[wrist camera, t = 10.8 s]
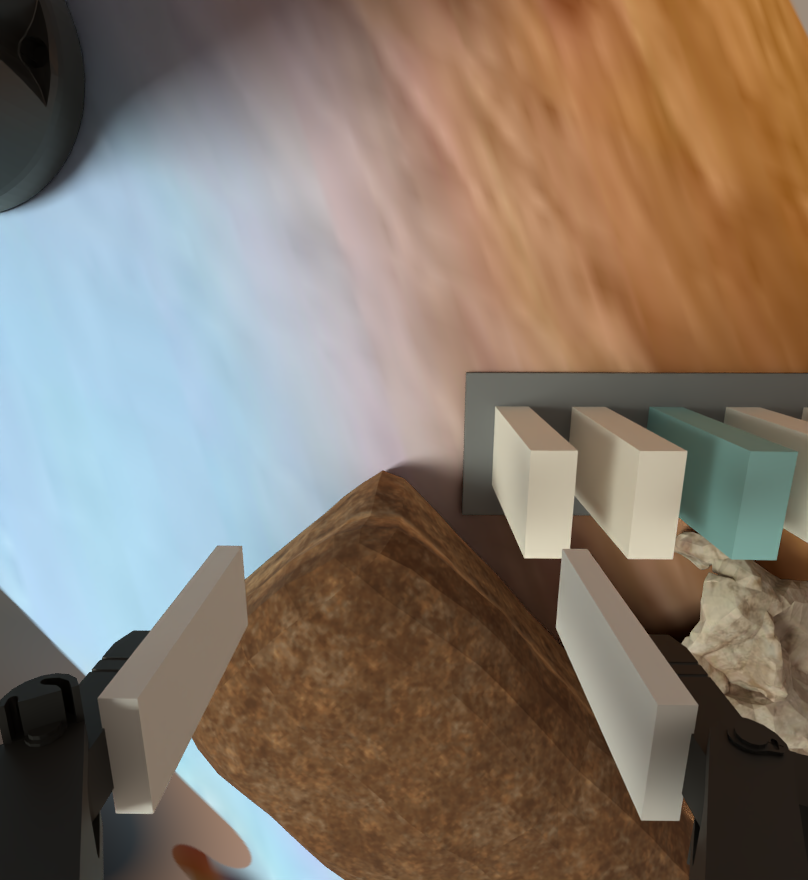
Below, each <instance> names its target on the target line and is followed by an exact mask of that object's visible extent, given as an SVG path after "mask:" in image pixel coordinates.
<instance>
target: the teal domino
mask: <svg viewBox="0 0 808 880" xmlns="http://www.w3.org/2000/svg"><path fill="white" fill-rule="evenodd" d="M647 430H649V431H651V432H653V433H655V434H657V435H658V436H660V437H662V438H664V439H666V440H668V441H670V442H671V443H673V444H675V445H677V446H679V447H681V448H682V449H684V450H686V451H687V459H686V466H685V473H684V481H683V488H682V496H681V503H680V510H679V518H680V519H682V520H683V521H684V522H685V523H687V524H688V525H689V526H690V527H692V528H693V529H694V530H695V531H697V532H698V533H699V534H700V535H701V536H703V537H704V538H705V539H706V540H708V541H709V542H710V543H711V544H713V545H714V546H715V547H716V548H718V549H719V550H720V551H721V552H723V553H724V554H725V555H726V556H728V557H729V558H730V559H731V560H777V555H778V550H779V545H780V540H781V535H782V530H783V525H784V520H785V515H786V510H787V505H788V500H789V495H790V490H791V485H792V480H793V476H794V471H795V466H796V461H797V456H798V452H797V451H794V450H792V449H789V448H786V447H784V446H781V445H779V444H776V443H774V442H771V441H768V440H766V439H763V438H761V437H758V436H756V435H753V434H750V433H748V432H745V431H743V430H740V429H738V428H735V427H732V426H730V425H727V424H725V423H722V422H720V421H717V420H714V419H712V418H709V417H707V416H704V415H702V414H699V413H696V412H694V411H691V410H689V409H686V408H684V407H649V415H648V423H647Z"/></svg>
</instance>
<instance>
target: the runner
mask: <svg viewBox="0 0 808 880" xmlns="http://www.w3.org/2000/svg"><path fill="white" fill-rule="evenodd" d="M495 406H529V407H530V408H531V409H532V410H533V411H534V412H535V413H536V414H538V415H539V416H540V417H541V418H542V419H543V420H544V421H545V422H546V423H548V424H549V425H550V426H551V427H552V428H553V429H554V430H555V431H557V432H558V433H559V434H560V435H561V436H562V437H563V438H564V439H566V440H567V441H568V442H569V438H570V426H571V413H572V407H607V408H609V409H610V410H612V411H614V412H616V413H618V414H620V415H622V416H623V417H625V418H627V419H629V420H631V421H633V422H634V423H636V424H638V425H640V426H642V427H644V428H646V429H647V423H648V415H649V407H684V408H686V409H689V410H691V411H694V412H696V413H699V414H702V415H704V416H707V417H709V418H712V419H714V420H717V421H720V422H722V423H724V418H725V411H726V407H761V408H764V409H767V410H771V411H774V412H777V413H780V414H784V415H787V416H790V417H794V418H797V419H800V420H801V419H802V413H803V408H804V407H808V373H540V372H466V392H465V426H464V460H463V494H462V514H463V515H505V514H504V511H503V509H502V507H501V504H500V502H499V500H498V498H497V495H496V493H495V491H494V489H493V486H492V471H493V448H494V425H495ZM573 515H590V513H589V512H588V511H587V510H586V509H585V508H584V506H583V505H582V504H581V503H580V502H579V500H578V499H577V498H576V497H575V496H574V506H573Z"/></svg>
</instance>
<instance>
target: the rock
mask: <svg viewBox="0 0 808 880" xmlns="http://www.w3.org/2000/svg"><path fill="white" fill-rule="evenodd" d="M674 551H675V552H677V553H679V554H681V555H683V556H684V557H686V558H687V559H689V560H690V561H691V562H692V563H693V564H695V565H696V566H697V567H698V568H699V569H702V570H704V569H707V568H708V567H709V566H710V565H712V569H713V572H715V573H717V574H718V575H715V574H712V573H710V572H709V573H708V575H707V577H706V579H705V581H704V585H703V593H702V598H701V612H700V621H699V623H698V624H697V625H696V626H695V627H694V629H693V630H692V631H691V632H690V636H689V637H685V639H684V640H683V642H682V643H681V644H682V645H684V646H685V647H687V648H688V650H689V651H690V652H691V654H692V655H693V656H694V657H695V659H696V660H697V661H698V664H699V665H701V666H702V667H703V669H704V670H705V671H706V672H707V674H708V677H711V679H712V680H713V681H714V682H715V684H716V685H717V686H718V687H719V689H720V690H721V691H722V692H723V694H724V695H725V696H726V698H727V699H728V700H729V701H730V703H731V704H732V705H733V706H734V708H735V709H736V710H737V711H738V713H739V714H740V715H741V716H742V717H744V718H749V719H751V720H753V721H756V722H758V723H760V724H763V725H764V726H766V727H767V728H769V729H770V730H772V731H773V732H775V733H776V734H778V735H779V737H780V738H781V739H782V740H783V741H784V742H785V743H786V744H787V746H788V748H789V750H790V751H793V752H796V753H799V754H803V755H807V756H808V581H797V580H789V579H784V580H781V579H779V578H778V577H776V576H774V575H772V574H771V573H769V572H768V571H767V570H765V569H764V568H763V567H761V566H760V565H758V564H757V563H755V562H754V561H753V560H731V559H730V558H729V557H728V556H726V555H725V554H724V553H723V552H721V551H720V550H719V549H718V548H716V547H715V546H714V545H713V544H711V543H710V542H709V541H708V540H706V539H705V538H704V537H703V536H701V535H700V534H697V533H694V532H683V533H681V534H679V535H678V536H676V540H675V547H674Z"/></svg>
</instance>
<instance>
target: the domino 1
mask: <svg viewBox="0 0 808 880" xmlns="http://www.w3.org/2000/svg"><path fill="white" fill-rule="evenodd" d="M577 458H578V450H577V449H576V448H574V447H573V446H572V445H571V444H570V443H569V442H568V441H567V440H566V439H564V438H563V437H562V436H561V435H560V434H559V433H558V432H557V431H555V430H554V429H553V428H552V427H551V426H550V425H549V424H548V423H546V422H545V421H544V420H543V419H542V418H541V417H540V416H539V415H538V414H536V413H535V412H534V411H533V410H532V409H531V408H530V407H529V406H495V425H494V448H493V471H492V486H493V489H494V491H495V493H496V495H497V498H498V500H499V502H500V504H501V507H502V509H503V511H504V514H505V516H506V518H507V520H508V523H509V525H510V527H511V529H512V532H513V534H514V536H515V538H516V541H517V543H518V545H519V548H520V550H521V552H522V554H523V557H524V558H551V559H562V549H570V542H571V530H572V518H573V506H574V494H575V482H576V470H577Z"/></svg>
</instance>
